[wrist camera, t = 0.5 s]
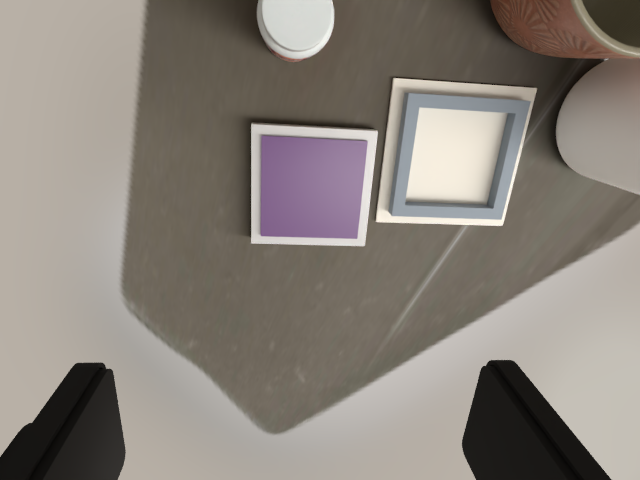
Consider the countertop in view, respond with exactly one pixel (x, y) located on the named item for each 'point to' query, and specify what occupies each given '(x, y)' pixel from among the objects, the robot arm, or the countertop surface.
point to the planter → (572, 27)
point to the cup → (604, 124)
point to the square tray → (451, 151)
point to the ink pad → (310, 184)
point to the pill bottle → (295, 26)
